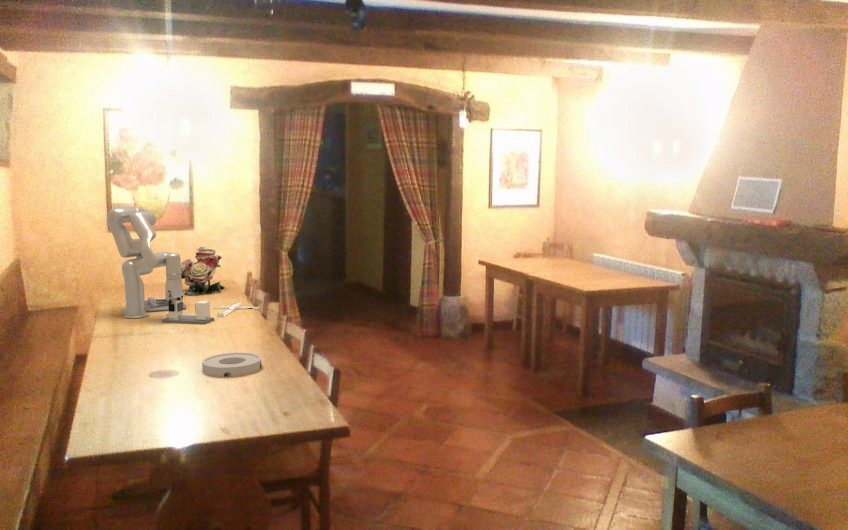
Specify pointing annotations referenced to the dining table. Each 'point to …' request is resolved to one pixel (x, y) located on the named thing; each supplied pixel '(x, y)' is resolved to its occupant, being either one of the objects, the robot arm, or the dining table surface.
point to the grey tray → (157, 305)
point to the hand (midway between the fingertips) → (175, 309)
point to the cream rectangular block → (176, 309)
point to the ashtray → (231, 364)
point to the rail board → (187, 321)
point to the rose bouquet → (201, 273)
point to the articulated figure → (231, 309)
